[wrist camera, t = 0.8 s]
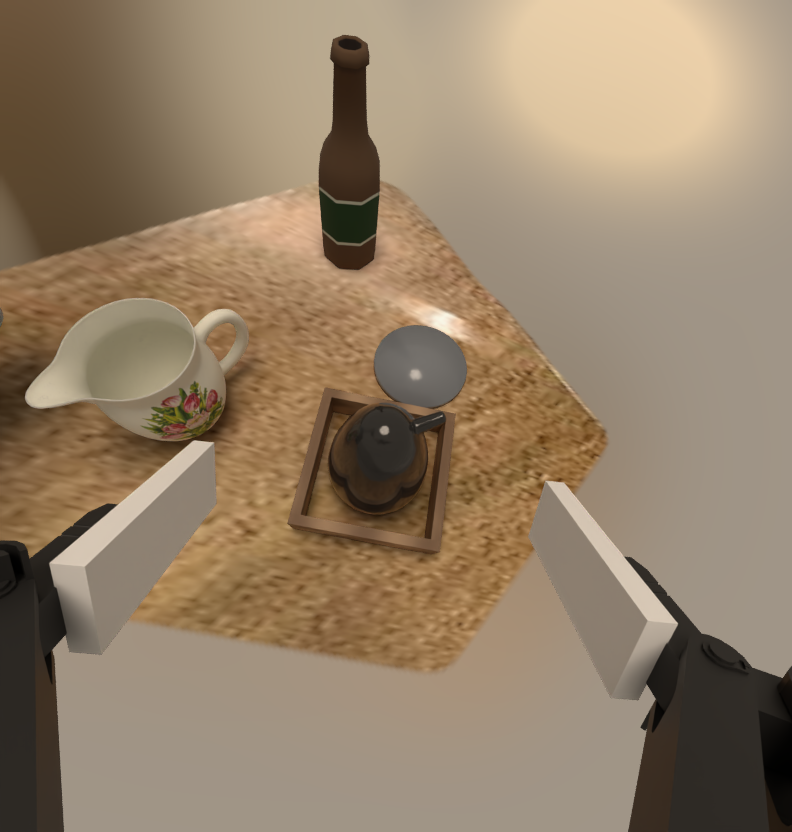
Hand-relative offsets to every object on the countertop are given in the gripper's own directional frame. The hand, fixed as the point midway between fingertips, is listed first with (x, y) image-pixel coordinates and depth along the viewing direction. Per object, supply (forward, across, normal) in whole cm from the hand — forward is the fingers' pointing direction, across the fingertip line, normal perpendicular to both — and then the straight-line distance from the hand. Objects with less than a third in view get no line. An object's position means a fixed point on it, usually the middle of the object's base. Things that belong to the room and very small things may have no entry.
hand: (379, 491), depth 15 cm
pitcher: (+29, -21, -9) cm, 37 cm away
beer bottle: (+48, -7, +10) cm, 50 cm away
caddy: (+26, 0, -14) cm, 29 cm away
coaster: (+36, +4, -3) cm, 36 cm away
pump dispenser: (+26, 0, -14) cm, 29 cm away
